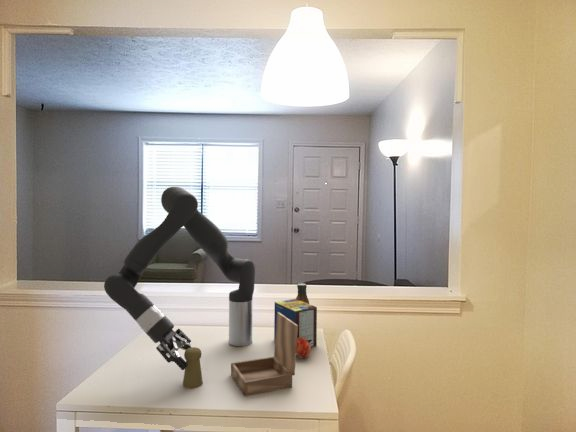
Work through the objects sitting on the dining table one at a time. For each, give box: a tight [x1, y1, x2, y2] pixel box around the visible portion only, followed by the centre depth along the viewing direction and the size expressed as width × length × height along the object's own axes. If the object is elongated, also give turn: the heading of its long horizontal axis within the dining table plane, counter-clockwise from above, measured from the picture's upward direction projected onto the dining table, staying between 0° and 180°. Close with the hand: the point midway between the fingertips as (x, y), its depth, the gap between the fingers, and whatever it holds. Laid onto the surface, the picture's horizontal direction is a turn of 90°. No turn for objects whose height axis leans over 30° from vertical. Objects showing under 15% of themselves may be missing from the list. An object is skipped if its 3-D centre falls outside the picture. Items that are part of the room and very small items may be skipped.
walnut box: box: [230, 356, 293, 397], centre depth 129 cm, size 15×15×4 cm
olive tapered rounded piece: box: [182, 346, 204, 389], centre depth 127 cm, size 6×6×11 cm
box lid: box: [273, 312, 298, 377], centre depth 132 cm, size 15×16×1 cm
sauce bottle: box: [295, 283, 310, 304], centre depth 180 cm, size 6×6×20 cm
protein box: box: [273, 298, 318, 348], centre depth 163 cm, size 10×15×16 cm
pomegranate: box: [296, 337, 312, 359], centre depth 149 cm, size 7×7×10 cm
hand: (190, 362), depth 127 cm, fingers open, 8 cm apart
